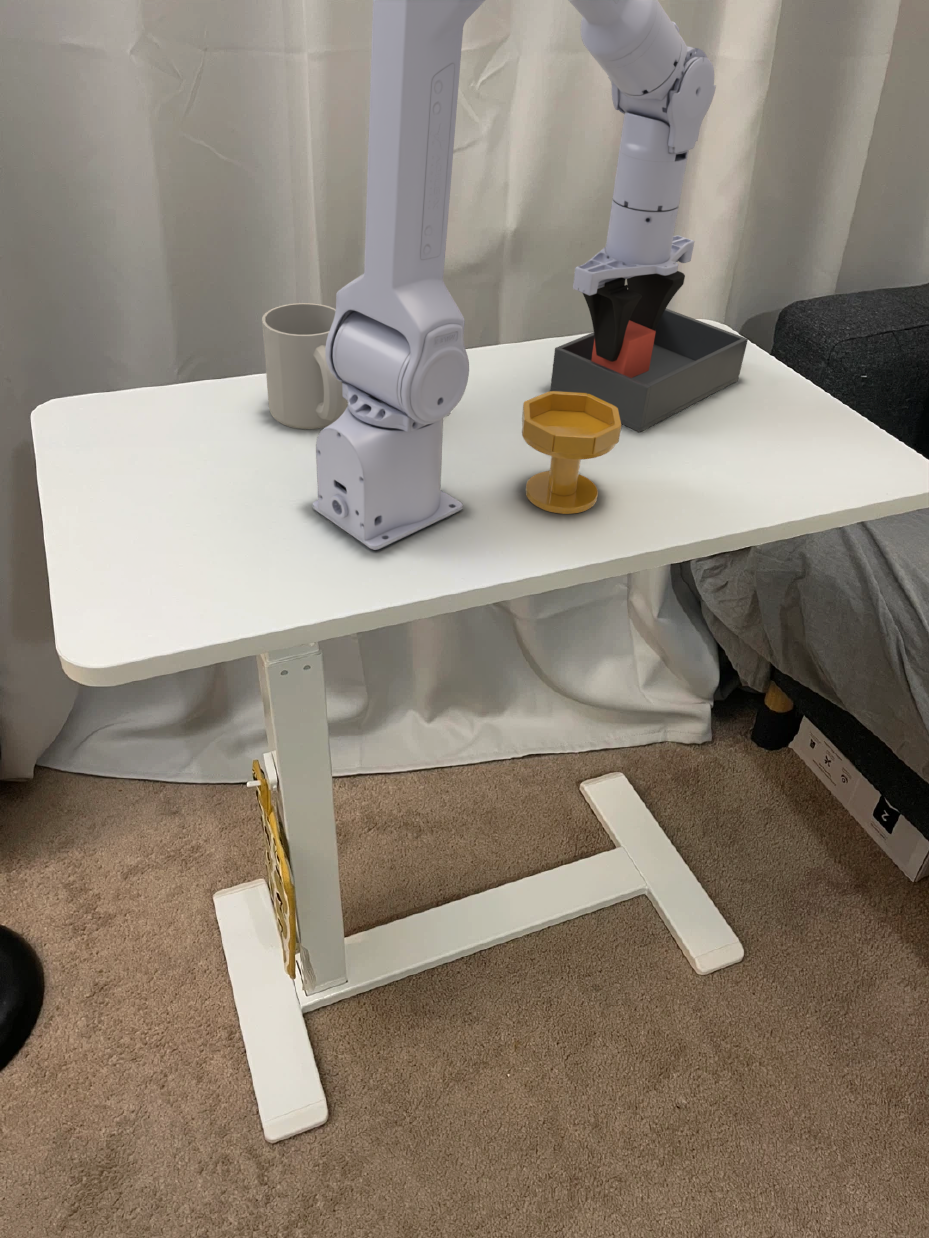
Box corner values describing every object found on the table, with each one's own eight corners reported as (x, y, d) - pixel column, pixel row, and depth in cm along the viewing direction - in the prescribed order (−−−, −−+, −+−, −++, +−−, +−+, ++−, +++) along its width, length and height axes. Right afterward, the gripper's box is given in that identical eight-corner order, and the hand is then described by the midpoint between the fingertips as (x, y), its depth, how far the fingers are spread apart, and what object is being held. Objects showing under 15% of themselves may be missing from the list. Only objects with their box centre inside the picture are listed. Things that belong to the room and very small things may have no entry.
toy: (622, 382, 93) (629, 341, 91) (590, 367, 95) (595, 327, 93) (649, 371, 96) (656, 331, 93) (616, 356, 98) (622, 317, 95)
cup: (327, 388, 97) (324, 298, 91) (374, 434, 90) (374, 340, 84) (257, 403, 93) (249, 310, 88) (300, 451, 87) (294, 355, 81)
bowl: (564, 530, 79) (576, 447, 75) (497, 490, 84) (504, 409, 79) (625, 498, 84) (639, 417, 79) (558, 462, 88) (567, 383, 83)
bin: (639, 432, 93) (647, 387, 90) (549, 391, 99) (554, 348, 96) (738, 380, 103) (748, 338, 100) (651, 345, 108) (658, 305, 106)
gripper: (628, 230, 80) (604, 387, 88) (732, 199, 88) (701, 346, 96) (562, 207, 83) (546, 360, 92) (668, 180, 92) (644, 322, 100)
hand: (621, 351), depth 94 cm, fingers closed on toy, 4 cm apart
